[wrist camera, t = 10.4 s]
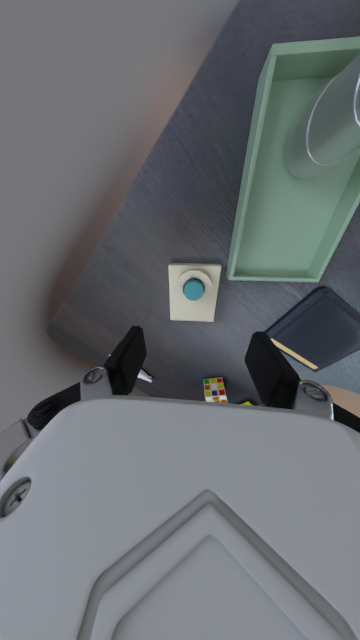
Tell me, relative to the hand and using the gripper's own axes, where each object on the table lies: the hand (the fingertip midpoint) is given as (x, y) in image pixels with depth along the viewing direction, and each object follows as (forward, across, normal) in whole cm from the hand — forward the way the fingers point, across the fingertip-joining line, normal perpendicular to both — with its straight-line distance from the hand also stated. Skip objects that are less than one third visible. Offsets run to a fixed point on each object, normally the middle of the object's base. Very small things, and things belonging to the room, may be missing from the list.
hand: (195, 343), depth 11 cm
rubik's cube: (+19, -8, +31) cm, 37 cm away
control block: (+18, 0, +2) cm, 18 cm away
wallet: (+18, -28, +11) cm, 35 cm away
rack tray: (+18, -13, -12) cm, 25 cm away
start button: (+15, 0, 0) cm, 15 cm away
